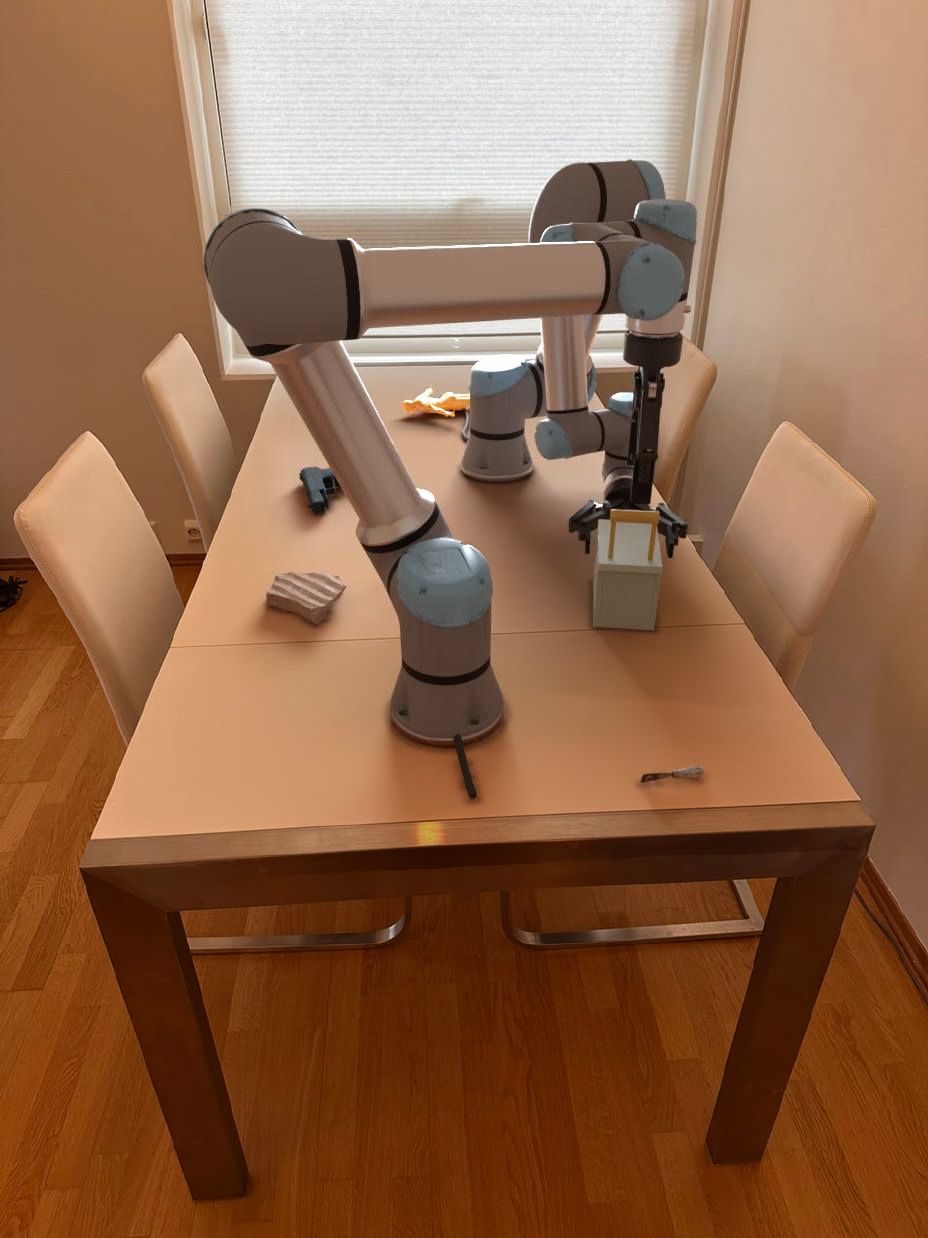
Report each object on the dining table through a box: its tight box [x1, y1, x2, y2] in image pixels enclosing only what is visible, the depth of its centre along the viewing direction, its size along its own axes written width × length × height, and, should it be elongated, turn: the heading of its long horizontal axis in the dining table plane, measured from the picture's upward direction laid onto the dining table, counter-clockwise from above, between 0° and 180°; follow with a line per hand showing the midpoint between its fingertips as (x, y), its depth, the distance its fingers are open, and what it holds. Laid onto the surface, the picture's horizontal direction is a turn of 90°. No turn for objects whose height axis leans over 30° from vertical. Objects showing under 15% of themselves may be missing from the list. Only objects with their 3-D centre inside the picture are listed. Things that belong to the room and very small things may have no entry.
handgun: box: [298, 466, 341, 515], centre depth 181 cm, size 3×18×12 cm
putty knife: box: [640, 765, 705, 784], centre depth 109 cm, size 1×8×2 cm, turn 103°
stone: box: [265, 571, 347, 625], centre depth 145 cm, size 13×12×2 cm
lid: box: [597, 509, 664, 575], centre depth 136 cm, size 15×9×9 cm, turn 173°
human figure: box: [402, 385, 470, 418], centre depth 225 cm, size 20×20×4 cm
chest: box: [592, 529, 662, 631], centre depth 142 cm, size 14×9×10 cm, turn 173°
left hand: (638, 483), depth 127 cm, fingers open, 13 cm apart
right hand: (629, 549), depth 147 cm, fingers open, 13 cm apart
